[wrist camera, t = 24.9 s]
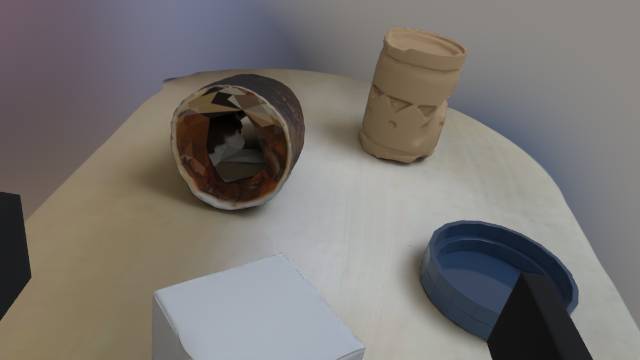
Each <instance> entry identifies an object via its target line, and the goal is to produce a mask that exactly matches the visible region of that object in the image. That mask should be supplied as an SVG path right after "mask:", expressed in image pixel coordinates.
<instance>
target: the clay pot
mask: <svg viewBox="0 0 640 360" xmlns="http://www.w3.org/2000/svg"><path fill="white" fill-rule="evenodd" d="M246 116H247V117H248V118H249V120H250V121H251V122H252V124H253V125H254V127H255V133H256V135H257V137H258V139H259V142H260V145H261V148H262V150H248V149H242V147H243V145H244V143H245V141H244V139H243V137H242V135H241V129H242V127H243V126H242V123H241V121H240V120H241V119H242V118H244V117H246ZM304 133H305V126H304V120H303V114H302V109H301V106H300V103H299V101H298V99H297V97H296V96H295V94H294V93H293V92H292V90H291V89H289V88H288V87H287V86H285V85H284V84H283V83H281V82H279V81H277V80H274V79H271V78H267V77H264V76H259V75H255V74H240V75H235V76H232V77H229V78H225V79H223V80H220V81H217V82H214V83H212V84H209V85H207V86H205V87H203V88H201V89H200V90H198V91H196V92H194V93H193V94H191V95H190V96H189V97H187V98H186V99H184V100H183V101H182V102H181V103H180V105H179V106H178V107H177V108H176V110H175V111H174V114H173V119H172V122H171V149H172V153H173V156H174V159H175V162H176V165H177V168H178V170H179V172H180V174H181V176H182V177H183V179H184V180H185V181H186V182H187V184H188V185H189V187H190V189H191V191H192V193H193V194H194V195H195V196H196V197H197V198H198V199H200V200H202V201H204V202H206V203H208V204H210V205H212V206H214V207H216V208H221V209H227V210H234V209H243V208H247V207H252V206H259V205H262V204H264V203H266V202H268V201H269V200H271V199H272V198H273V197H274V196H275V195H276V194H277V193H278V192H279V191H280V190H281V188H282V186H283V184H284V183H285V182H286V181H287V179H288V178H289V176H290V174H291V171H292V169H293V167H294V165H295V164H296V162H297V160H298V158H299V156H300V153H301V150H302V148H303V145H304ZM219 161H224V162H249V163H266V166H265V167H264V168H263V169H262V170H261V171H260V172H259V173H258V174H257V175H256V176H253V177H249V178H244V179H239V180H234V181H229V180H227V179H224V178H222V177H221V176H220V175H219V174H218V172H217V171H216V169H215V166H216V165H217V164H218V162H219Z"/></svg>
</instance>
